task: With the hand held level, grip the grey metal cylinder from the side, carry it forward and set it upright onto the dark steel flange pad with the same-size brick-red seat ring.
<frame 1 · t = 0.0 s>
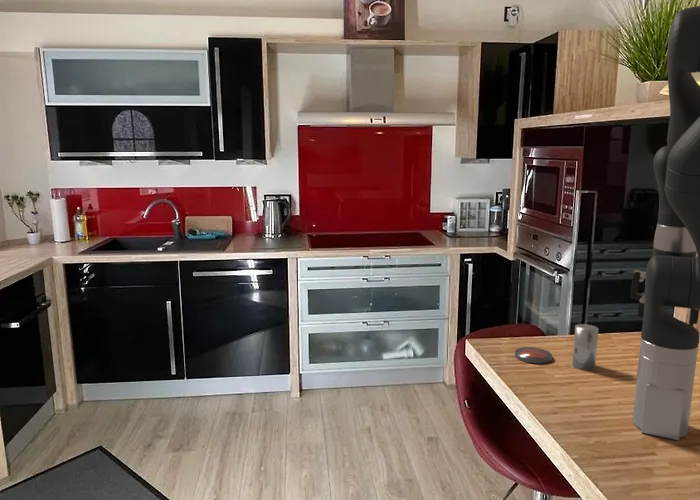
hand: (666, 321, 110), 17 cm above the breakfast bar, tool pointing down, fingers open, 8 cm apart
flange pad: (533, 357, 135), on the breakfast bar
grey metal cylinder: (583, 366, 130), on the breakfast bar
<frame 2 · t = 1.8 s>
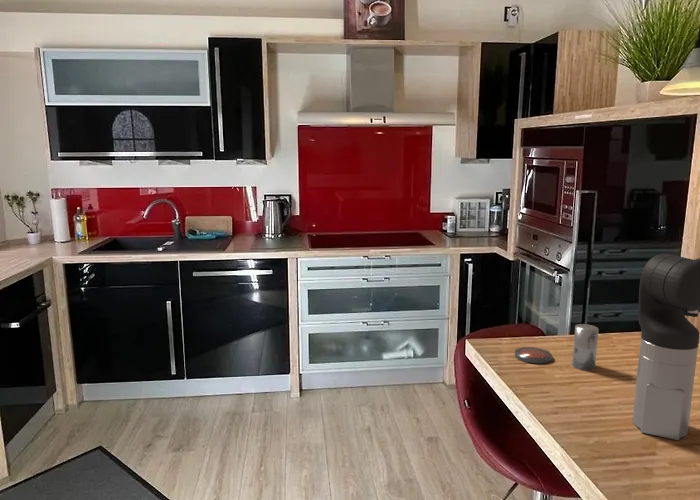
hand: (642, 297, 121), 19 cm above the breakfast bar, tool horizontal, fingers open, 8 cm apart
nothing on the breakfast bar moved.
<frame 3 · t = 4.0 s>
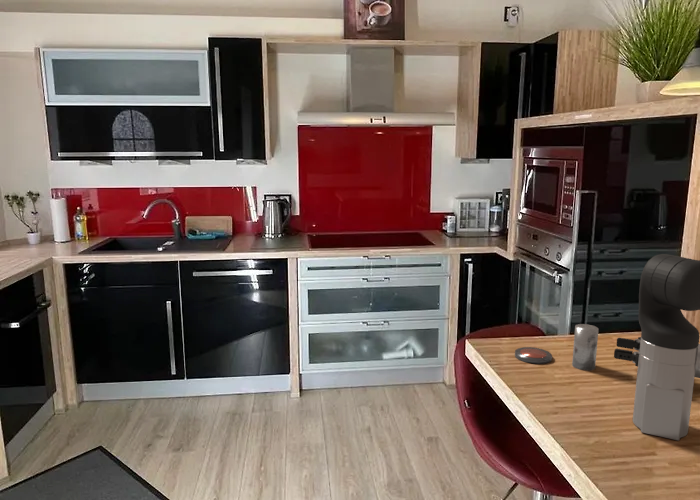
hand: (615, 347, 125), 6 cm above the breakfast bar, tool horizontal, fingers open, 8 cm apart
nothing on the breakfast bar moved.
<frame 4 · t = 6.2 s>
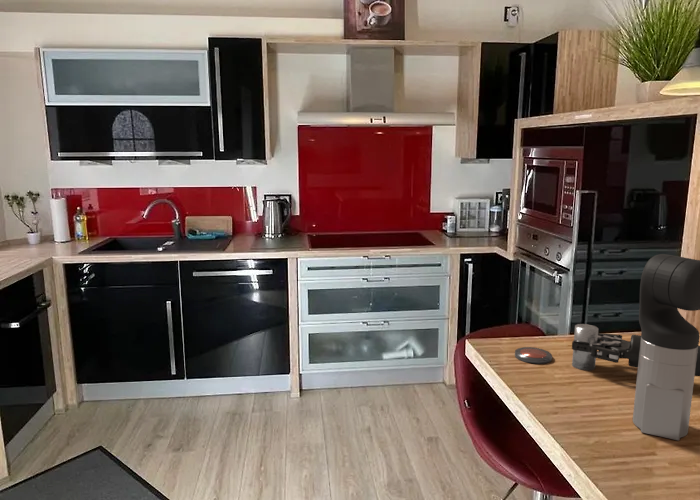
hand: (574, 341, 130), 6 cm above the breakfast bar, tool horizontal, fingers closed on grey metal cylinder, 5 cm apart
grey metal cylinder: (583, 366, 130), on the breakfast bar, touching gripper
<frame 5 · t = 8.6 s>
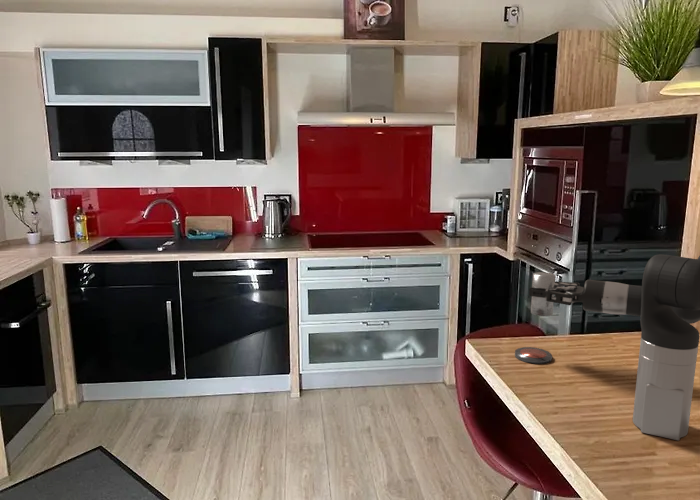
hand: (532, 288, 133), 18 cm above the breakfast bar, tool horizontal, fingers closed on grey metal cylinder, 5 cm apart
grey metal cylinder: (541, 312, 133), point 12 cm above the breakfast bar, touching gripper
when the fingers open (8 cm above the breakfast bar, at t = 11.0 s): grey metal cylinder drops 1 cm, resting on flange pad.
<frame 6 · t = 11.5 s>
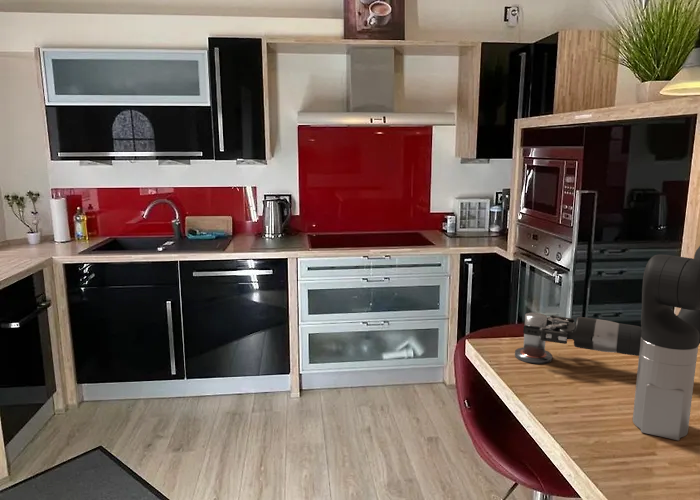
hand: (527, 324, 135), 8 cm above the breakfast bar, tool horizontal, fingers open, 8 cm apart
grey metal cylinder: (533, 352, 135), point 1 cm above the breakfast bar, touching flange pad
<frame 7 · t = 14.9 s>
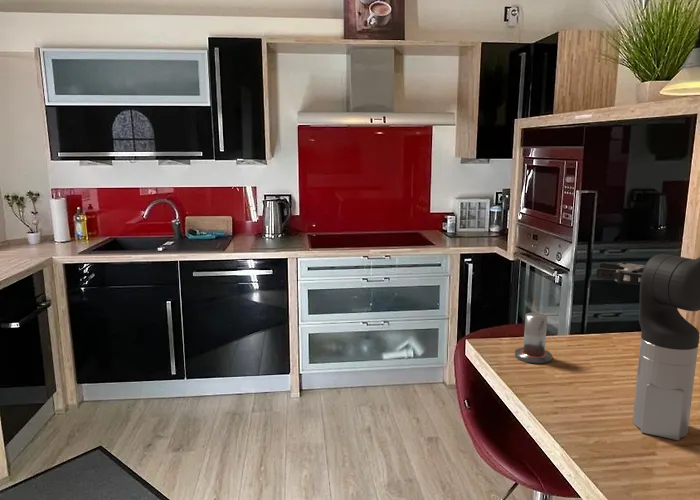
hand: (598, 269, 124), 25 cm above the breakfast bar, tool horizontal, fingers open, 8 cm apart
nothing on the breakfast bar moved.
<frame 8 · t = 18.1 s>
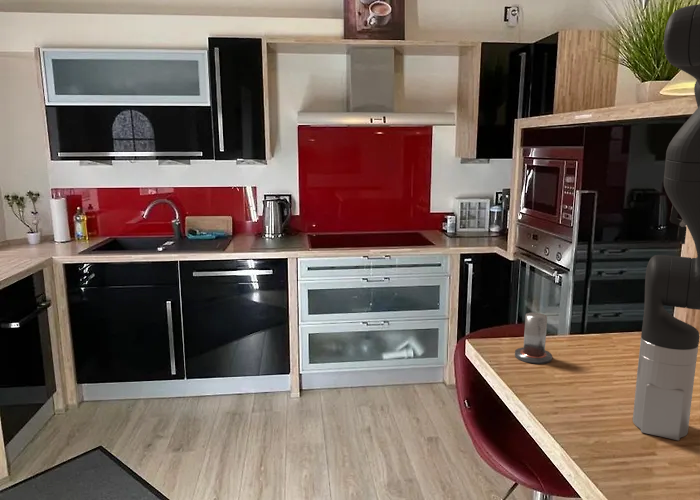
nothing on the breakfast bar moved.
at the end: grey metal cylinder 0.2 cm from the flange pad (horizontally); grey metal cylinder tilted 0°; the gripper is holding nothing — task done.
